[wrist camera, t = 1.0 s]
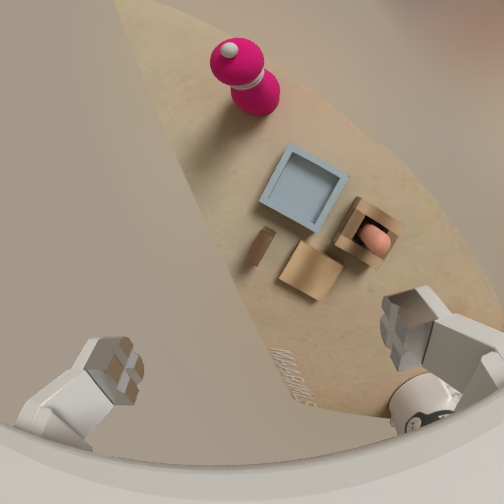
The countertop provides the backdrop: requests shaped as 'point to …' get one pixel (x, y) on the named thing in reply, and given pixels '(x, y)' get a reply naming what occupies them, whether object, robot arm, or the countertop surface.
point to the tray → (303, 187)
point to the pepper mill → (245, 75)
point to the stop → (260, 246)
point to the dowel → (374, 238)
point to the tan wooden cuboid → (311, 270)
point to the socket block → (352, 224)
